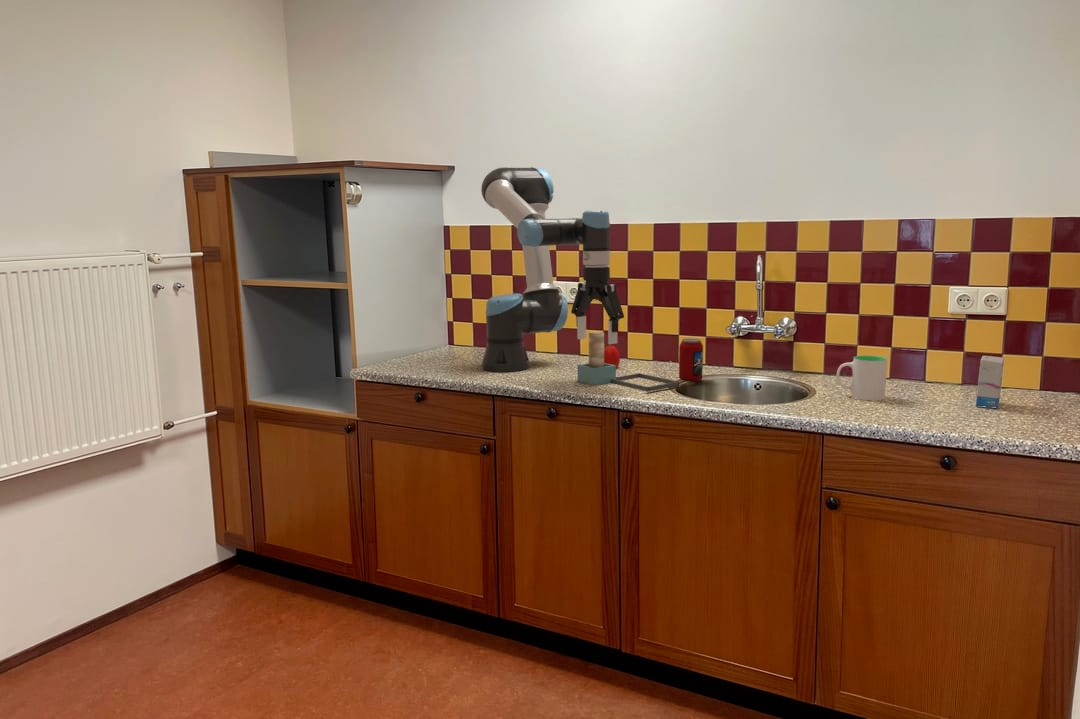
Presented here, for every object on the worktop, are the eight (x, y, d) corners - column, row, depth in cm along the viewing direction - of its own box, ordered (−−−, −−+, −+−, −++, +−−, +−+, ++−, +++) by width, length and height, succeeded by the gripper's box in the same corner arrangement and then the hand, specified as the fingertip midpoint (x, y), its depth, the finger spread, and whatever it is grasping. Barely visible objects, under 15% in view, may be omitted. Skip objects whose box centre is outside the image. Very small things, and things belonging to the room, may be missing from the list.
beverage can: (702, 383, 231) (703, 341, 228) (678, 382, 232) (679, 341, 230) (702, 378, 237) (703, 338, 235) (679, 378, 238) (679, 338, 236)
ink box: (998, 409, 195) (1002, 361, 193) (975, 407, 198) (979, 359, 196) (1000, 402, 202) (1004, 356, 200) (977, 400, 205) (981, 354, 203)
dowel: (585, 381, 232) (585, 333, 230) (597, 379, 235) (597, 331, 232) (595, 383, 229) (595, 334, 226) (607, 381, 231) (607, 333, 229)
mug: (835, 398, 209) (837, 359, 207) (835, 392, 217) (837, 354, 215) (885, 401, 205) (887, 361, 203) (884, 395, 212) (886, 356, 211)
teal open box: (577, 383, 233) (577, 364, 232) (598, 380, 237) (598, 361, 236) (595, 387, 226) (594, 368, 225) (615, 384, 231) (615, 365, 230)
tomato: (617, 366, 257) (617, 343, 256) (621, 372, 249) (621, 348, 247) (588, 367, 257) (588, 344, 256) (591, 372, 248) (590, 348, 247)
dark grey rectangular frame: (608, 384, 230) (608, 378, 230) (639, 379, 237) (639, 373, 237) (647, 394, 218) (647, 387, 217) (678, 387, 225) (679, 381, 224)
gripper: (558, 265, 233) (559, 338, 237) (615, 268, 214) (616, 347, 217) (578, 264, 238) (579, 335, 241) (636, 267, 218) (636, 344, 221)
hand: (597, 341), depth 229 cm, fingers open, 13 cm apart
